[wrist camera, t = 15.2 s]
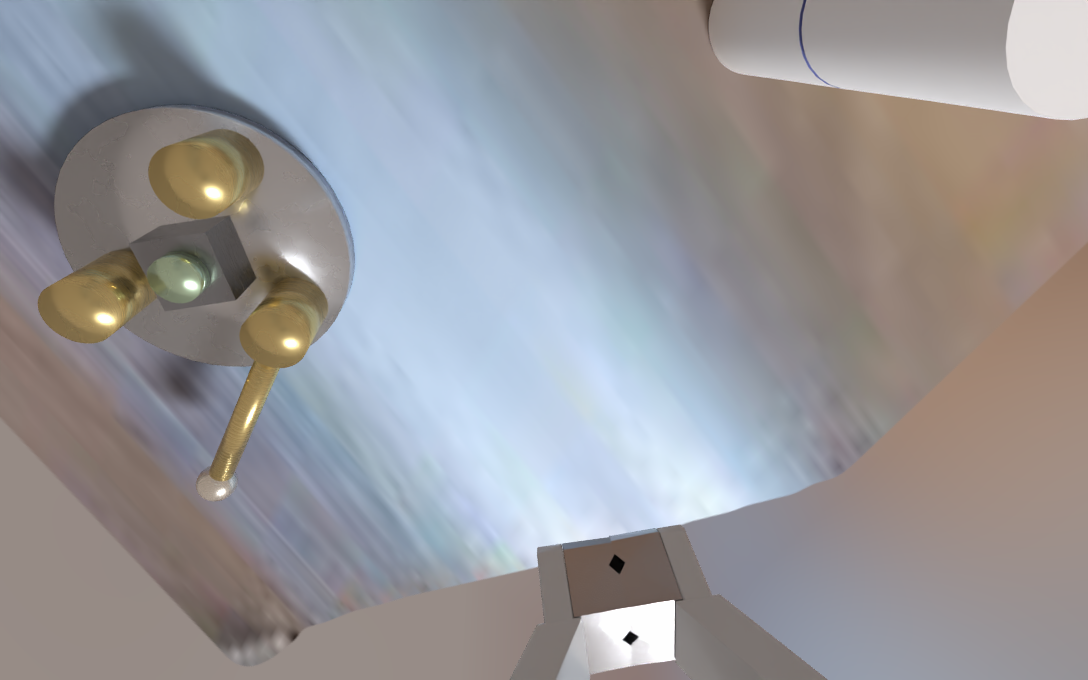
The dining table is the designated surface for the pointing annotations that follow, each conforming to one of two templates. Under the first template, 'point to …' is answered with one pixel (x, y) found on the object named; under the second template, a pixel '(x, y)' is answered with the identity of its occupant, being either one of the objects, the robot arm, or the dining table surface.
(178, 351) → the tribrach
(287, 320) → the brass lever handle
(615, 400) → the dining table surface
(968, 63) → the cylindrical container
